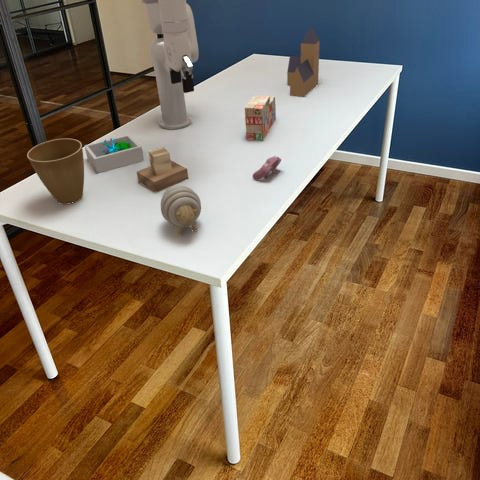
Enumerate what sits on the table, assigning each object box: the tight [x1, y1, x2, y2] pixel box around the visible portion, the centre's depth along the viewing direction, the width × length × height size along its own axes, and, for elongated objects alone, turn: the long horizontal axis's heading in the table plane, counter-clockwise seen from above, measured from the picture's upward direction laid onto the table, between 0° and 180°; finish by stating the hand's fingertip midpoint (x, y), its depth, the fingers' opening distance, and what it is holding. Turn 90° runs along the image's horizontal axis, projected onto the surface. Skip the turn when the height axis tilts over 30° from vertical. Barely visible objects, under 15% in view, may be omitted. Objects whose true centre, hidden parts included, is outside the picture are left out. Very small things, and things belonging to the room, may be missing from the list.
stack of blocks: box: [244, 95, 277, 142], centre depth 177 cm, size 21×6×12 cm, turn 164°
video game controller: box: [252, 155, 282, 181], centre depth 148 cm, size 10×5×7 cm, turn 149°
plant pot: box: [26, 137, 85, 205], centre depth 140 cm, size 15×15×16 cm
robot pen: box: [83, 134, 145, 174], centre depth 164 cm, size 13×16×5 cm
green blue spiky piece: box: [103, 137, 130, 155], centre depth 167 cm, size 12×7×8 cm
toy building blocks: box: [286, 26, 321, 98], centre depth 209 cm, size 12×19×25 cm
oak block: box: [147, 146, 172, 175], centre depth 147 cm, size 5×5×6 cm
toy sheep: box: [160, 184, 202, 236], centre depth 126 cm, size 11×17×11 cm, turn 24°
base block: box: [136, 160, 189, 193], centre depth 150 cm, size 10×12×4 cm
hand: (182, 87), depth 145 cm, fingers open, 9 cm apart
